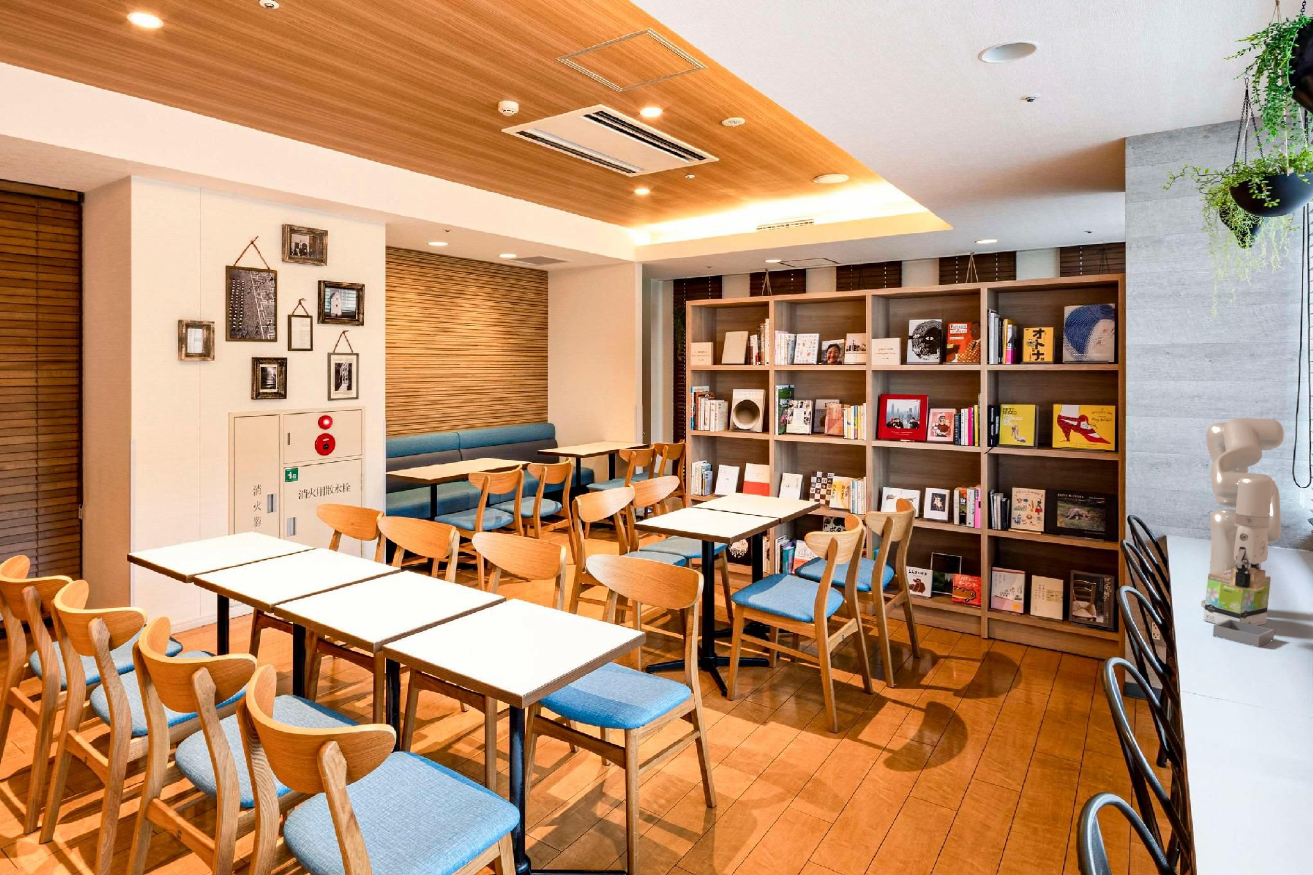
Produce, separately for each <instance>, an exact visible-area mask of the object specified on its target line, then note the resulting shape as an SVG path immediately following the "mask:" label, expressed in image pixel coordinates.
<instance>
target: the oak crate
mask: <svg viewBox="0 0 1313 875" xmlns="http://www.w3.org/2000/svg"><path fill="white" fill-rule="evenodd" d="M1249 574H1251V575H1250V587H1249V588H1243V587H1238V586H1235V578H1236V567H1234V568H1231V577H1230V586H1232V587H1237V588H1242V589H1247V590H1252V591H1258V590H1260V589H1263V588H1264V585H1265V575H1266V569H1255V568H1250V571H1249Z"/></svg>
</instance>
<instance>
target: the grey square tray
mask: <svg viewBox="0 0 1313 875" xmlns="http://www.w3.org/2000/svg"><path fill="white" fill-rule="evenodd" d="M1212 631H1213V632H1212V637H1216V636H1217V638H1219V637H1221V638H1220V639H1223V638H1225V639H1224V640H1227V639H1228V640H1227V641H1231V640H1233V641H1232V642H1234V643H1235V642H1236V643H1239V642H1240V644H1243V643H1244V645H1248V646H1251V645H1254V646H1253V647H1255V646H1256V648H1260V647H1262V646H1264V645H1266V644H1269V643H1271V642H1272V641H1271V640H1273V641H1274V638H1275V629H1273V628H1270V627H1269V628H1268V627H1266V626H1260V625H1252V624H1248V623H1244V622H1240V621H1235V620H1231V619H1229V620H1226V621H1224V622H1221V623H1219V624H1214V625H1213V630H1212ZM1270 641H1271V642H1270ZM1261 645H1262V646H1261Z"/></svg>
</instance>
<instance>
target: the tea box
mask: <svg viewBox="0 0 1313 875" xmlns="http://www.w3.org/2000/svg"><path fill="white" fill-rule="evenodd" d="M1230 577H1231V570H1226V571H1220V572H1214V573H1210V572H1209V573H1208V575H1207V584H1206V594H1205V600H1206V601H1205V607H1204V609H1203V610H1204V613H1203V621H1205V622H1209V623H1211V624H1214V625H1216V624H1219V623H1221V622H1224V621H1226V620H1229V619H1231V620H1235V621H1240V622H1244V623H1248V624H1252V625H1257V626H1260V625H1265V624H1266V623H1267V617H1268V609H1269V608H1268V607H1269V598H1270V587H1271V575H1270V576H1269V575H1266V574H1265V585H1264V588H1263V589H1260V590H1258V591H1252V590H1247V589H1242V588H1237V587H1232V586H1230Z"/></svg>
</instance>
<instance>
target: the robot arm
mask: <svg viewBox="0 0 1313 875" xmlns="http://www.w3.org/2000/svg"><path fill="white" fill-rule="evenodd" d="M1284 434H1285V432H1284V428H1283V426H1282V424H1281V423H1280V422H1279V421H1278V420H1276V419H1274V418H1273V419H1271V418H1254V417H1253V418H1251V417H1246V418H1245V417H1239V418H1233V419H1230V420H1228V421H1227V422H1225V421H1224V422H1218V423H1213V424H1211V425H1209V426H1208V428H1207V429H1206V435H1205V437H1206V438H1205V439H1206V446H1207V451H1208V453H1209V455H1210V458H1211V460H1212V462H1213V463H1212V465H1211V469H1210V480H1211V489H1212V492H1213V493H1214V495H1215V496H1214V497H1215V501H1216V502H1217V504H1218V505H1220V506H1222V507H1226V508H1228V509H1226V508H1225V509H1224V508H1223V509H1218V510H1215V511H1213V512H1212V514H1210V517H1209V527H1210V538H1211V539H1210V541H1211V543H1210V544H1211V547H1210V563H1209V573H1214V572H1220V571H1226V570H1231V568H1234V567H1236V578H1235V586H1238V587H1243V588H1249V587H1250V575H1251V574H1249V571H1250V568H1255V569H1261V568H1262V566H1261V565H1262V563H1264V562H1266V561H1267V560H1268V551H1269V550H1268V549H1269V548H1268V547H1269V546H1268V545H1269V544H1275V543H1277V542H1278V541H1279V539H1280V537H1281V536H1282V535H1281V534H1282V523H1281V522H1282V520H1281V500H1280V499H1281V497H1280V490H1279V488H1278V486H1277V484H1276V482H1275V480H1273V478H1272V476H1270V475H1267V474H1263V473H1252V472H1251V473H1250V472H1248V471H1249V470H1248V469H1249V467H1252V466H1255V465H1256V464H1258V463H1259V462H1260V461H1261V459H1262V458H1263V451H1271V450H1274V449H1276V448H1278V447H1279V446H1280V445H1281V444H1282V442H1284V438H1285V437H1284ZM1232 508H1234V509H1232ZM1261 570H1262V569H1261ZM1205 601H1206V599H1204V600H1203V599H1202V601H1201V603H1200V604H1201V606H1202V607H1203V608H1205Z"/></svg>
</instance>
